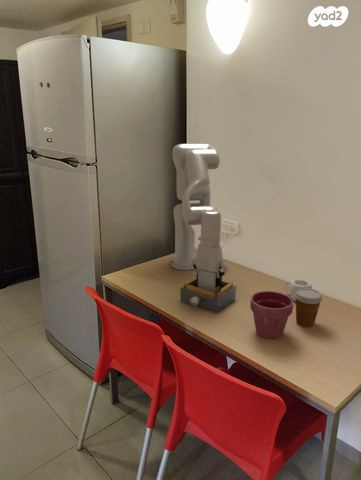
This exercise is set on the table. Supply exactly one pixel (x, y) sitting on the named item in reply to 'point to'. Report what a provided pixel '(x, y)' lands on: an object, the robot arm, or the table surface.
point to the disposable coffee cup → (307, 306)
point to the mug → (297, 286)
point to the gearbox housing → (208, 296)
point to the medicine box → (207, 280)
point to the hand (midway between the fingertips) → (208, 283)
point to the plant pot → (271, 313)
